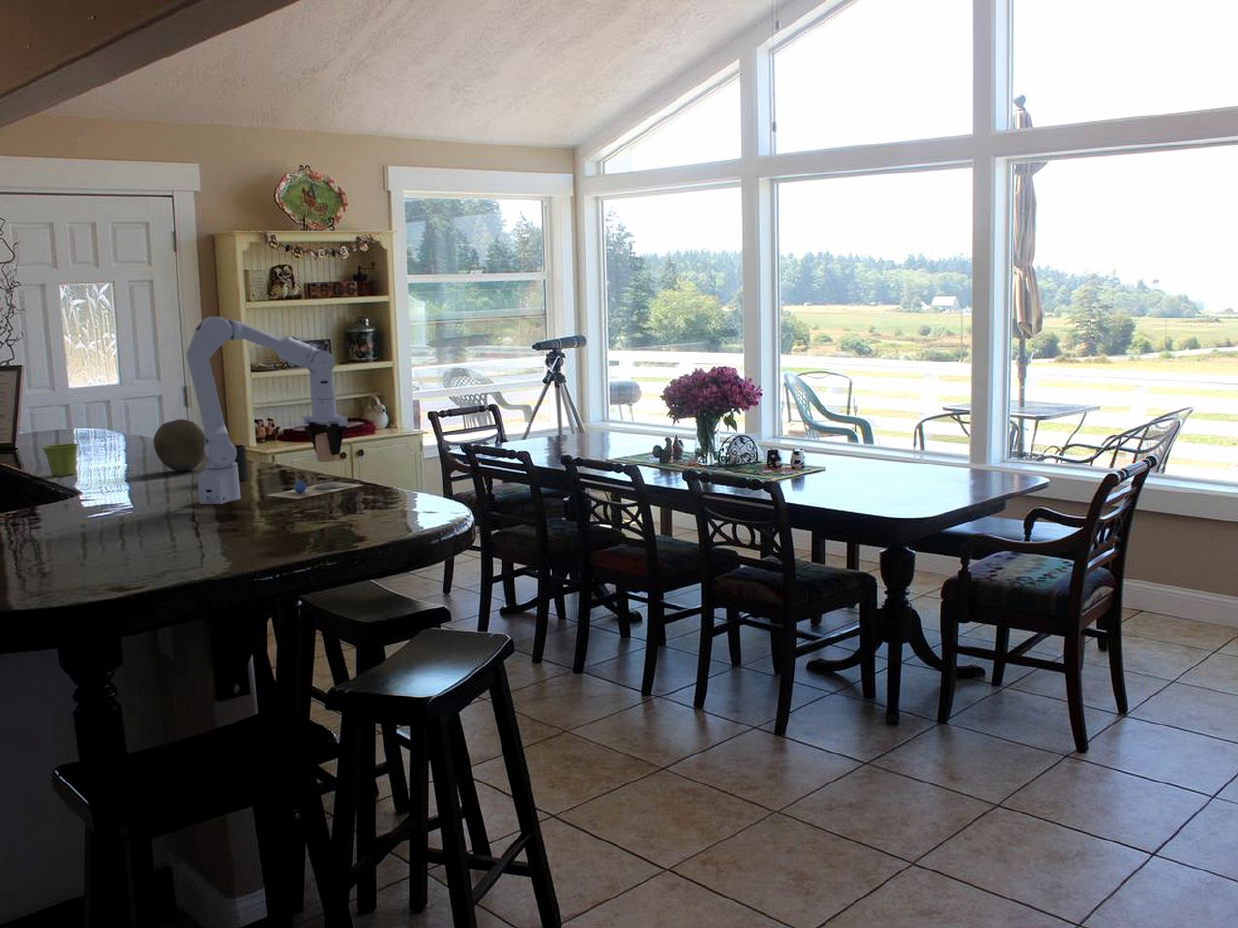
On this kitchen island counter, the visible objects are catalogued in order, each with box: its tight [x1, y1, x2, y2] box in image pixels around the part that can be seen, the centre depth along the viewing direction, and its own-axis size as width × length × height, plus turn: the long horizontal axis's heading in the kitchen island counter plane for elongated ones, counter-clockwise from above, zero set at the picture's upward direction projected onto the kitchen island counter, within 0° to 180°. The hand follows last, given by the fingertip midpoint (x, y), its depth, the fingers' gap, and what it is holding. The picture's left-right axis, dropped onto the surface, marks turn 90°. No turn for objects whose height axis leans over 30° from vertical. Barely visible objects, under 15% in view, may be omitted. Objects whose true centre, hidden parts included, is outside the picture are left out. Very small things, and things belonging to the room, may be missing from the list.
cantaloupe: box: [153, 418, 206, 472], centre depth 334 cm, size 14×14×15 cm
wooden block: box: [315, 432, 341, 463], centre depth 287 cm, size 5×5×6 cm
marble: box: [293, 480, 308, 493], centre depth 282 cm, size 3×3×3 cm
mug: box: [233, 444, 249, 483], centre depth 314 cm, size 9×12×9 cm
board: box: [267, 481, 364, 500], centre depth 285 cm, size 20×12×1 cm, turn 142°
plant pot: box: [41, 443, 79, 477], centre depth 339 cm, size 9×9×9 cm
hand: (327, 453), depth 288 cm, fingers closed on wooden block, 5 cm apart
